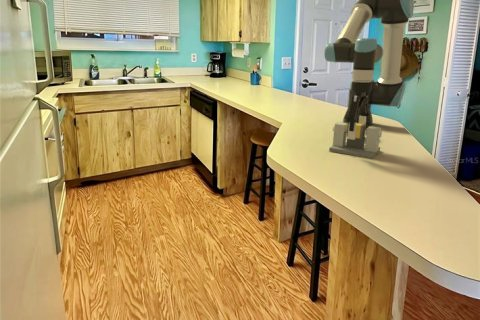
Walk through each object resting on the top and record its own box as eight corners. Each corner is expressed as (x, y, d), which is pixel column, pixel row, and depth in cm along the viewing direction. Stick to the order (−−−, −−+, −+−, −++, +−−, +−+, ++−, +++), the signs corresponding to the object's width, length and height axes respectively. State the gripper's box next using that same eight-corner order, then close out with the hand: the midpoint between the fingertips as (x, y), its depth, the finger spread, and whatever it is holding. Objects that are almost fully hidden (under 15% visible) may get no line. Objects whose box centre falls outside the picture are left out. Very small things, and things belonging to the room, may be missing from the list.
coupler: (349, 134, 149) (350, 122, 147) (364, 136, 145) (366, 124, 144) (346, 136, 145) (347, 124, 144) (361, 138, 142) (363, 125, 141)
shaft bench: (337, 144, 157) (339, 120, 153) (381, 151, 147) (385, 125, 144) (327, 151, 147) (329, 125, 144) (374, 158, 138) (377, 131, 134)
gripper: (361, 77, 150) (356, 127, 157) (341, 83, 131) (336, 140, 137) (380, 78, 147) (373, 130, 153) (362, 85, 127) (356, 143, 133)
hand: (356, 135), depth 145 cm, fingers open, 13 cm apart
